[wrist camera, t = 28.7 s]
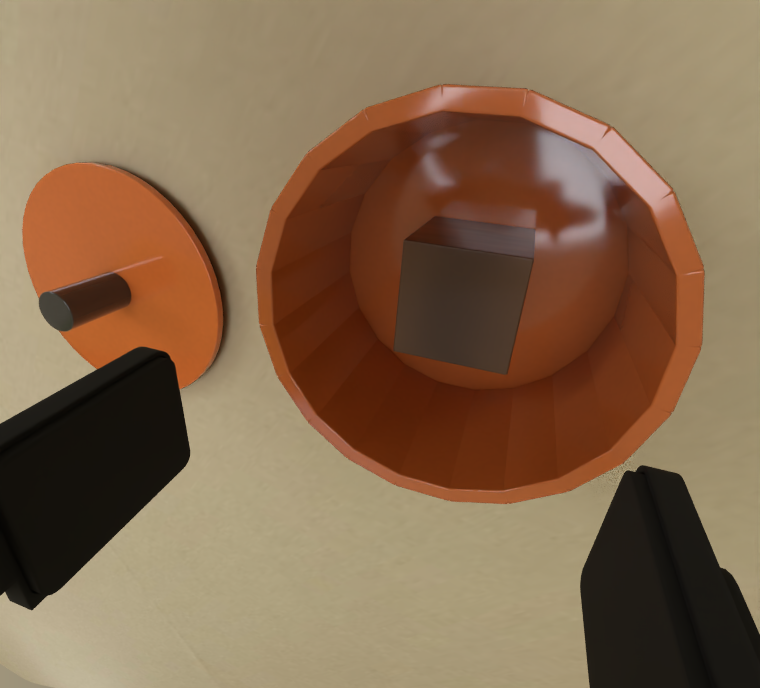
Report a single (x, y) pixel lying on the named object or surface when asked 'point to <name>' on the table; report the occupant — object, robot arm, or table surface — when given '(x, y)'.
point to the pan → (540, 310)
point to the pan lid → (120, 269)
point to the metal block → (463, 292)
